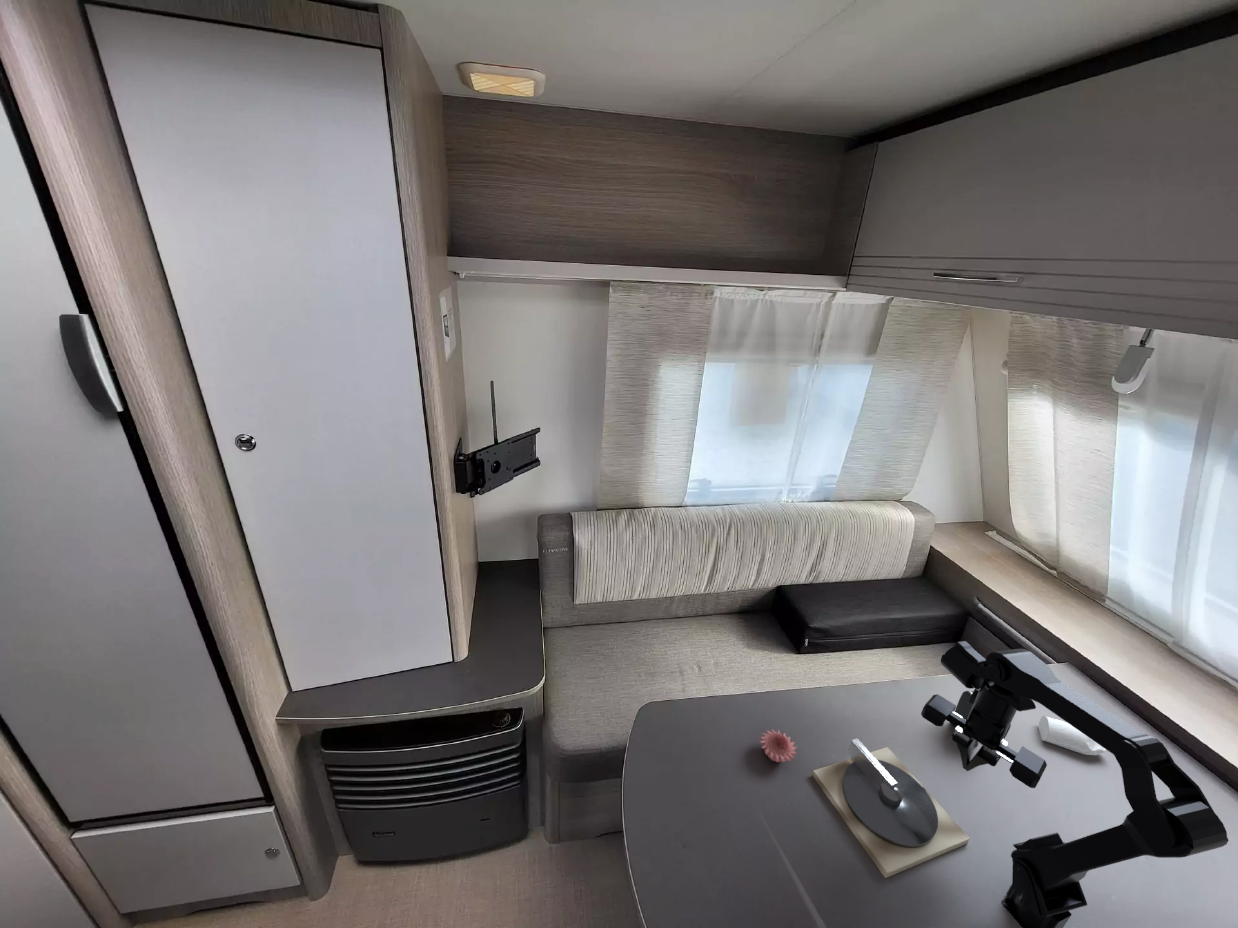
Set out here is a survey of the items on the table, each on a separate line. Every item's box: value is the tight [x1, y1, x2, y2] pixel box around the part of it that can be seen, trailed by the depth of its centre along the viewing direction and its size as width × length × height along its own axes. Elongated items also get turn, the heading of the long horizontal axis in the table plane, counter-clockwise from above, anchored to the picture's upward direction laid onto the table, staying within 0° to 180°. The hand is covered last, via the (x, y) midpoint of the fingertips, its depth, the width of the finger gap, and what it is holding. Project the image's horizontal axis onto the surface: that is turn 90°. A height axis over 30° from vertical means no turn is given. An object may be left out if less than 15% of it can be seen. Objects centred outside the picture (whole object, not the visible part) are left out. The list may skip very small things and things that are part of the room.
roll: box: [1038, 715, 1107, 756], centre depth 117 cm, size 6×12×6 cm, turn 63°
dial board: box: [811, 746, 971, 879], centre depth 101 cm, size 20×20×2 cm
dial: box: [842, 737, 938, 848], centre depth 101 cm, size 19×17×5 cm
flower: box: [759, 728, 798, 763], centre depth 110 cm, size 8×8×6 cm
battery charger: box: [950, 690, 979, 748], centre depth 117 cm, size 7×4×11 cm, turn 0°
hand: (966, 768), depth 97 cm, fingers closed
